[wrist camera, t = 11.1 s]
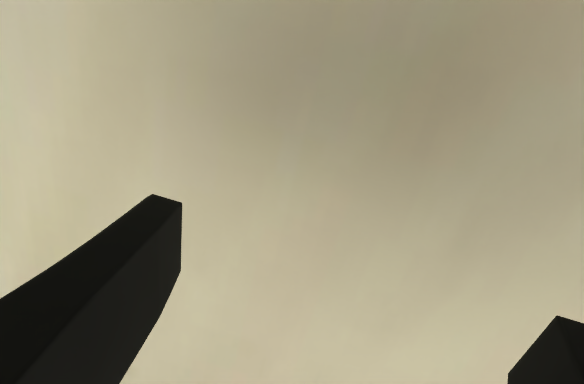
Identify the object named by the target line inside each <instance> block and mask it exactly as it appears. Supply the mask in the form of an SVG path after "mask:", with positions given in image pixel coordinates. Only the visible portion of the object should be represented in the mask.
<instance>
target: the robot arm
mask: <svg viewBox="0 0 584 384" xmlns="http://www.w3.org/2000/svg"><path fill="white" fill-rule="evenodd" d="M181 231H182V203H181V202H177V201H174V200H171V199H167V198H164V197H161V196H157V195H154V194H152V195H150V196H148V197H146V198H145V199H144V200H143V201H141V202H140V203H139V204H137V205H136V206H135V207H133V208H132V209H131V210H129V211H128V212H127V213H125V214H124V215H123V216H122V217H120V218H119V219H118V220H116V221H115V222H114V223H112V224H111V225H109V226H108V227H107V228H105V229H104V230H103V231H101V232H100V233H99V234H97V235H96V236H94V237H93V238H92V239H90V240H89V241H87V242H86V243H85V244H83V245H82V246H80V247H79V248H77V249H76V250H75V251H73V252H72V253H70V254H69V255H67V256H66V257H64V258H63V259H62V260H60V261H59V262H57V263H56V264H54V265H53V266H51V267H50V268H48V269H47V270H45V271H44V272H42V273H40V274H39V275H37V276H36V277H34V278H33V279H31V280H29V281H28V282H26V283H25V284H23V285H21V286H20V287H18V288H17V289H15V290H14V291H12V292H10V293H9V294H7V295H6V296H4V297H2V298H1V299H0V384H119V383H120V382H121V380H122V378H123V377H124V375H125V373H126V372H127V370H128V368H129V367H130V365H131V364H132V362H133V360H134V359H135V357H136V355H137V354H138V352H139V350H140V349H141V347H142V345H143V344H144V342H145V340H146V339H147V337H148V335H149V334H150V332H151V330H152V329H153V327H154V325H155V324H156V322H157V320H158V319H159V317H160V315H161V313H162V311H163V309H164V307H165V304H166V302H167V300H168V298H169V296H170V294H171V291H172V289H173V287H174V285H175V282H176V280H177V278H178V276H179V273H180V271H181ZM508 384H584V323H580V322H577V321H574V320H570V319H567V318H564V317H560V316H556V317H555V318H554V319H553V320H552V322H551V323H550V324H549V325H548V326H547V328H546V329H545V330H544V331H543V332H542V334H541V335H540V336H539V337H538V338H537V340H536V341H535V342H534V343H533V344H532V346H531V347H530V348H529V349H528V350H527V352H526V353H525V354H524V355H523V356H522V358H521V359H520V360H519V361H518V362H517V364H516V365H515V366H514V367H513V368H512V370H511V371H510V372H509V373H508Z"/></svg>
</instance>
